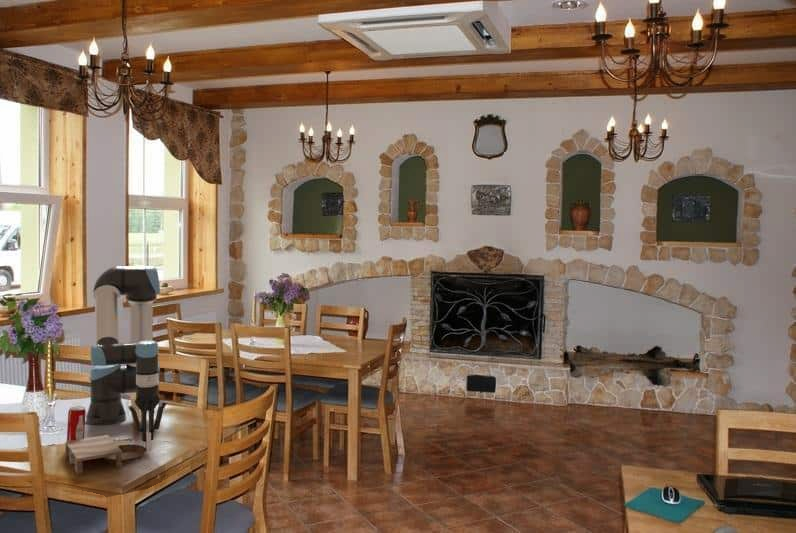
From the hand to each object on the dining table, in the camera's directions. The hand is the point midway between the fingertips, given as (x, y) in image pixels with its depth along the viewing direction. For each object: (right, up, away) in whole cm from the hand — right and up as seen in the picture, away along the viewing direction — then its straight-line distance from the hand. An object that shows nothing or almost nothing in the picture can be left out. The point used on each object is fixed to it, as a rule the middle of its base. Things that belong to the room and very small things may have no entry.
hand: (147, 449), depth 246 cm
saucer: (-7, -2, -5) cm, 8 cm away
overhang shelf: (-15, -2, -10) cm, 18 cm away
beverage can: (-27, -1, +4) cm, 28 cm away
